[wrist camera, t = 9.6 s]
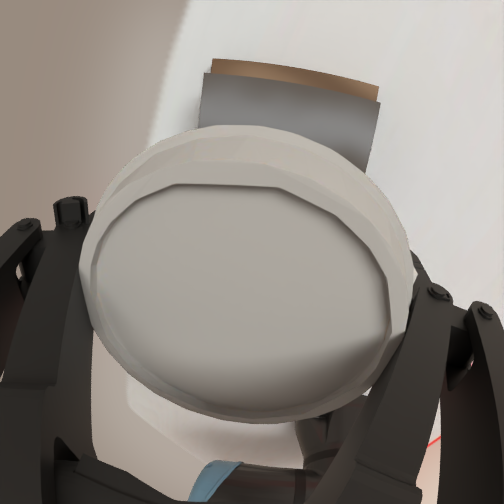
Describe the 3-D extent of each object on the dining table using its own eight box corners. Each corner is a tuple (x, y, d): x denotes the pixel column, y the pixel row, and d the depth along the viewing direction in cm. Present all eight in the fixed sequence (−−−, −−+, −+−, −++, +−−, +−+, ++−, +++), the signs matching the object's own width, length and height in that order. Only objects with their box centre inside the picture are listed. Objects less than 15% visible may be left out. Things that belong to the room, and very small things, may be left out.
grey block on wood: (337, 245, 31) (342, 272, 26) (201, 220, 32) (185, 242, 27) (374, 86, 23) (390, 86, 18) (217, 60, 24) (200, 54, 19)
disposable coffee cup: (227, 272, 21) (170, 430, 11) (169, 139, 17) (16, 223, 7) (368, 238, 18) (422, 405, 8) (327, 84, 14) (390, 67, 4)
